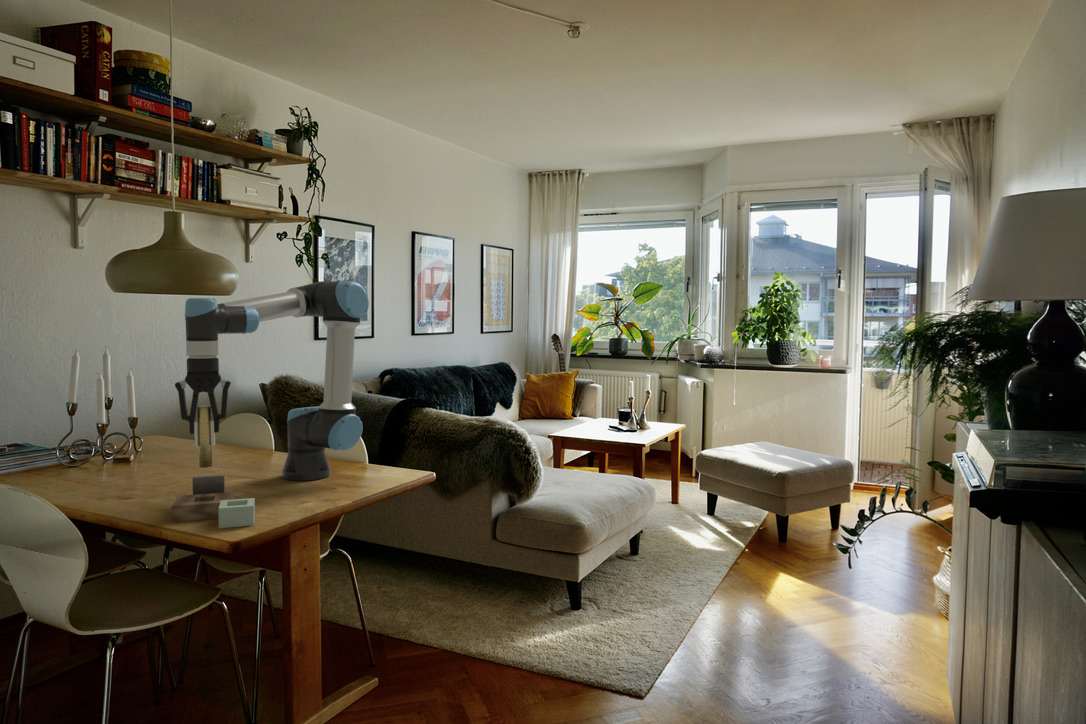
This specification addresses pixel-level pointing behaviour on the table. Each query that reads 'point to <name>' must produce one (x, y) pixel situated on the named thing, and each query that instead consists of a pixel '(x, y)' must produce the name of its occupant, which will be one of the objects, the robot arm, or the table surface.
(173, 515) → the socket block
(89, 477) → the table surface
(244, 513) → the hollow square block
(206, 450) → the peg
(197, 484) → the grey t-shaped plug
